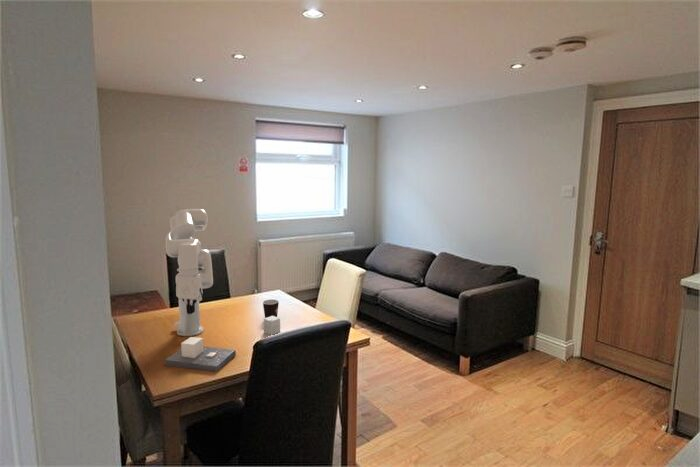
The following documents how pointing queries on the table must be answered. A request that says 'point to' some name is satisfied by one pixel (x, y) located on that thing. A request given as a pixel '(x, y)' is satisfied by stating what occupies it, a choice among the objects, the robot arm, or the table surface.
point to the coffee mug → (270, 307)
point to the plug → (192, 347)
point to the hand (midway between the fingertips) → (190, 312)
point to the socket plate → (202, 359)
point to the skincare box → (271, 325)
